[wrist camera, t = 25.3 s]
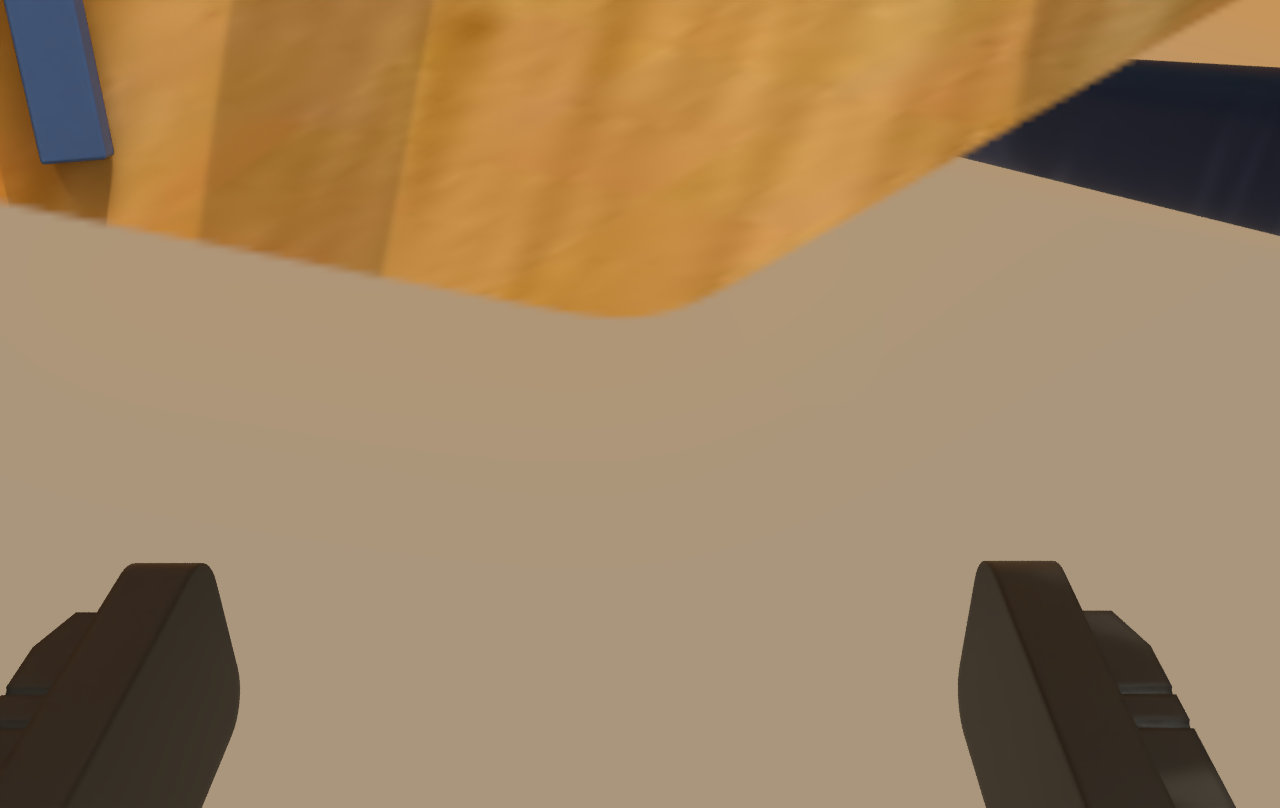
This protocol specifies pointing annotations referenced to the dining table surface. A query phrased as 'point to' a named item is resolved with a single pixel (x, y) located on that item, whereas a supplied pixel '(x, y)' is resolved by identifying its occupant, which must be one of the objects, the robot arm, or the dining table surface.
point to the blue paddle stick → (60, 80)
